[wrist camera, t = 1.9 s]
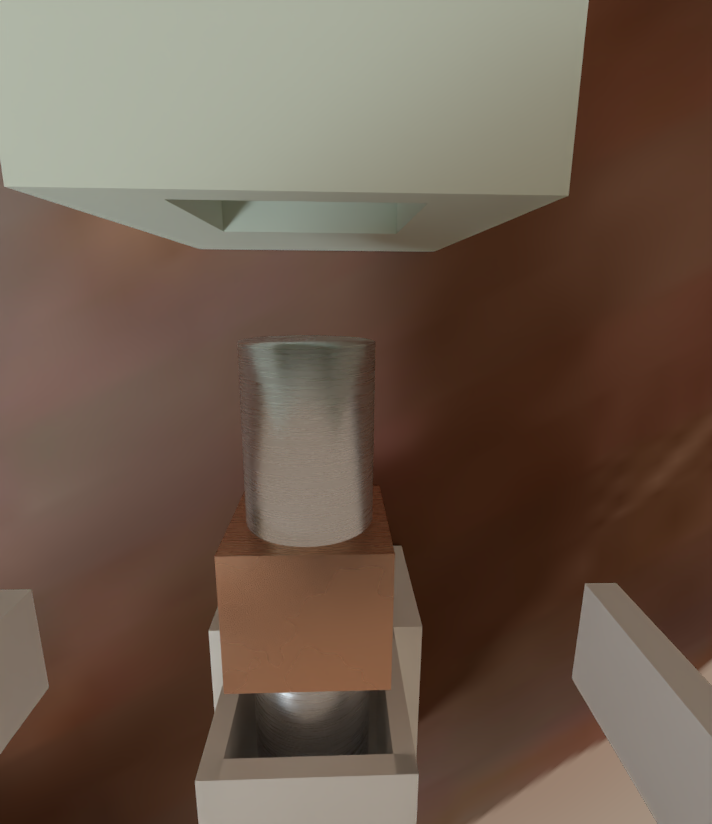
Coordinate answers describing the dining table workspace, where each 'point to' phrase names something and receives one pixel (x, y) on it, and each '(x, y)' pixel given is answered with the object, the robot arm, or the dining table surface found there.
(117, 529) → the dining table surface
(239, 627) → the tube
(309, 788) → the sleeve
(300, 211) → the socket block
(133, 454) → the dining table surface
